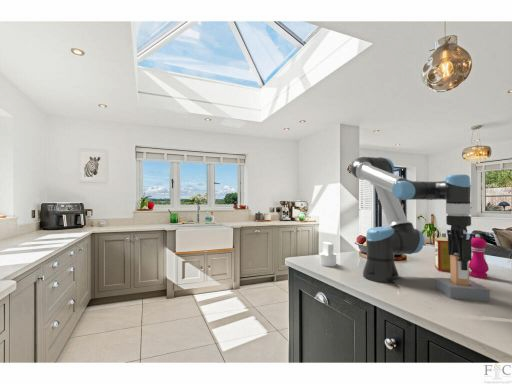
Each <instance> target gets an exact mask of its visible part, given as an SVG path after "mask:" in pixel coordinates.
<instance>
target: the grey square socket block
mask: <svg viewBox="0 0 512 384" xmlns="http://www.w3.org/2000/svg"><path fill="white" fill-rule="evenodd" d="M435 288H436V290H439V292H441V293H442V294H444V295H445V296H446V297H448V298H449V299H452V300H455V299H456V300H467V301H479V302H490V289H488V288H487V287H485V286H483V285H481V284H479V283H477V282H476V281H474V280H472V279H469V286H467V285H456V284H454V283H452V282H451V277H435Z"/></svg>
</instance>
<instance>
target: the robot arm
mask: <svg viewBox="0 0 512 384" xmlns="http://www.w3.org/2000/svg"><path fill="white" fill-rule="evenodd" d="M350 172H351V175H352V176H353V177H354V178H357V179H359V180H362V181H363V180H366V181H367V182H369V183H370V185H371V186H374V188H375V190H376V194H377V196H378V199H379V202H380V204H381V207H382V211H383V213H384V215H385V219H386V221H387V224H388V226H375V227H371V228H368V229H367V230H366V237H365V238H366V239H365V240H366V261H365V265H364V268H363V271H362V276H363V278H365V279H366V280H369V281H374V282H379V283H395V281H397V280H399V278H400V275H399V271H398V269H397V266H396V263H395V255H412V254H417V253H419V252H421V250H422V249H423V248H424V246H425V245H424V244H425V236H424V234H423V233H422V231H421V230H419V229H417V228H415V227H414V224H413V223H412V222H410V221H408V219H407V217H406V213H405V212H404V209H403V206H402V204H401V202H400V200H403V201H407V200H411V201H413V200H415V201H416V200H418V201H419V200H420V201H421V200H426V201H433V200H434V201H435V200H438V201H439V200H445V214H447V215H446V220H445V223H446V225H447V226H450V229H447V230H446V233H447V239H448V254H449V255H454V253H459V259H457V261H458V278H459V279H468V261H469V262H470V261H471V260H472V256H473V255H472V250H471V249H472V246H471V240H472V238H473V234H472V233H468V228H467V227H471V226H472V217H471V213H472V206H471V204H472V203H471V190H472V189H471V187H472V185H471V178H470V176H469V175H467V174H449V175H446V176H445V180H441V181H412V180H409V179H407V178H404V177H402V176H400V175H396V174H395V165H394V163H393V161H392V159H391V160H390V159H389V158H387V157H380V156H379V157H373V156H372V157H371V156H361V157H358V158H356V159H354V160H353V161H352V163H351V164H350Z"/></svg>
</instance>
